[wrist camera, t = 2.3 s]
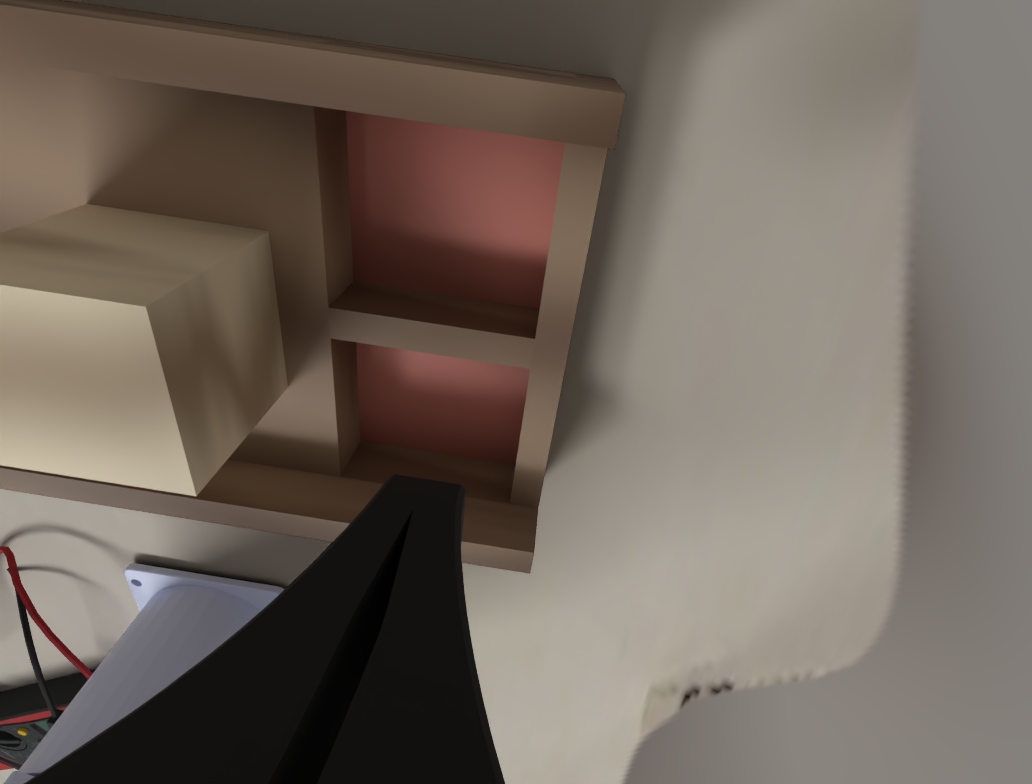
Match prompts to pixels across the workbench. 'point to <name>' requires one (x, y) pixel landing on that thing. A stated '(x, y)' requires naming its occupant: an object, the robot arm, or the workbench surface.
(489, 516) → the long open wooden box
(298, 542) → the workbench surface
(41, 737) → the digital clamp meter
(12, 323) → the block
